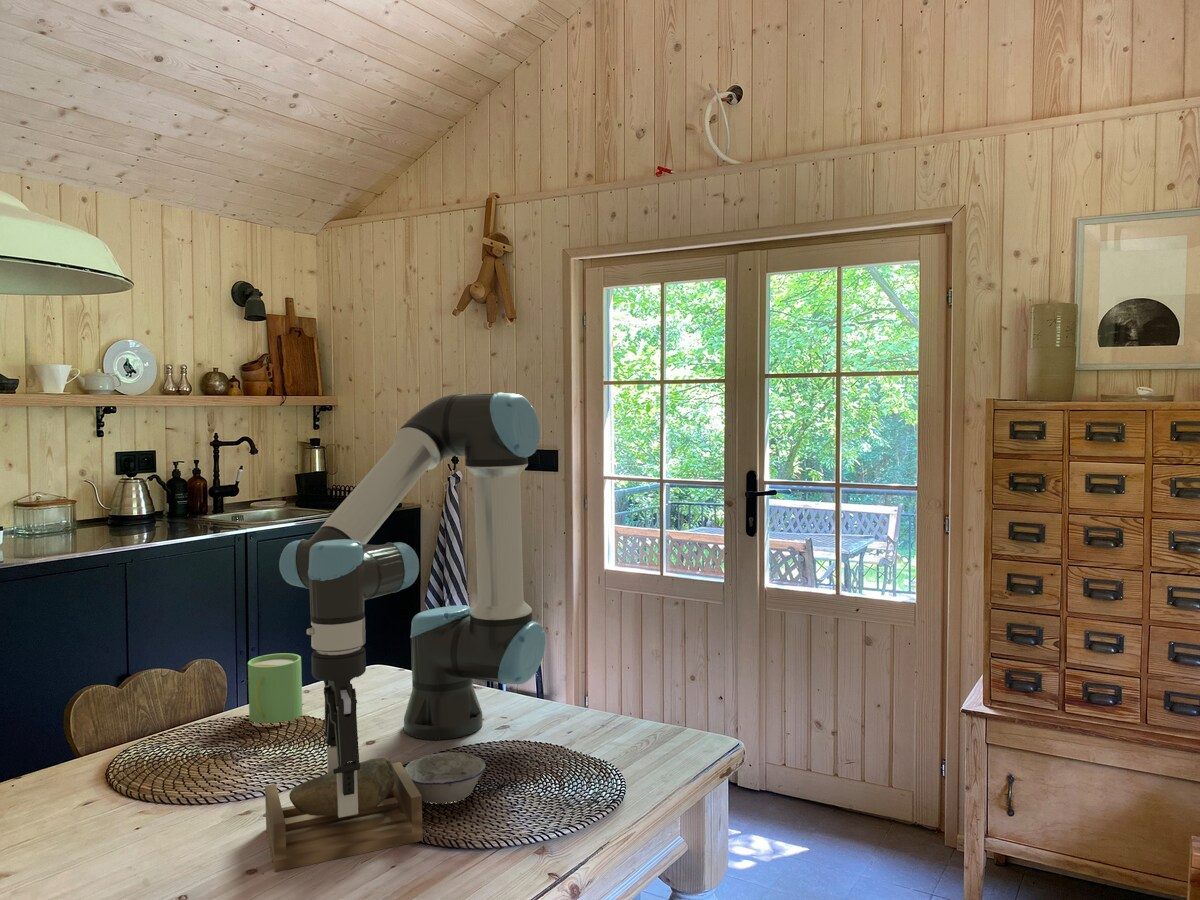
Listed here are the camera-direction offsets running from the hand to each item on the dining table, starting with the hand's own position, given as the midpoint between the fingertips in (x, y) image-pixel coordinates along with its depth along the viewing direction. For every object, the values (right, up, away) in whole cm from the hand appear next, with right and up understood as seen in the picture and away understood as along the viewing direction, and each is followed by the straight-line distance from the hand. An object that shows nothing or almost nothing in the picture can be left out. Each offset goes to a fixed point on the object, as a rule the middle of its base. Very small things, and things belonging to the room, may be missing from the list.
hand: (342, 801), depth 131 cm
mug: (-28, -3, +50) cm, 57 cm away
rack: (0, -5, 0) cm, 5 cm away
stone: (0, -1, 0) cm, 1 cm away
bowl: (+13, -4, +14) cm, 19 cm away
